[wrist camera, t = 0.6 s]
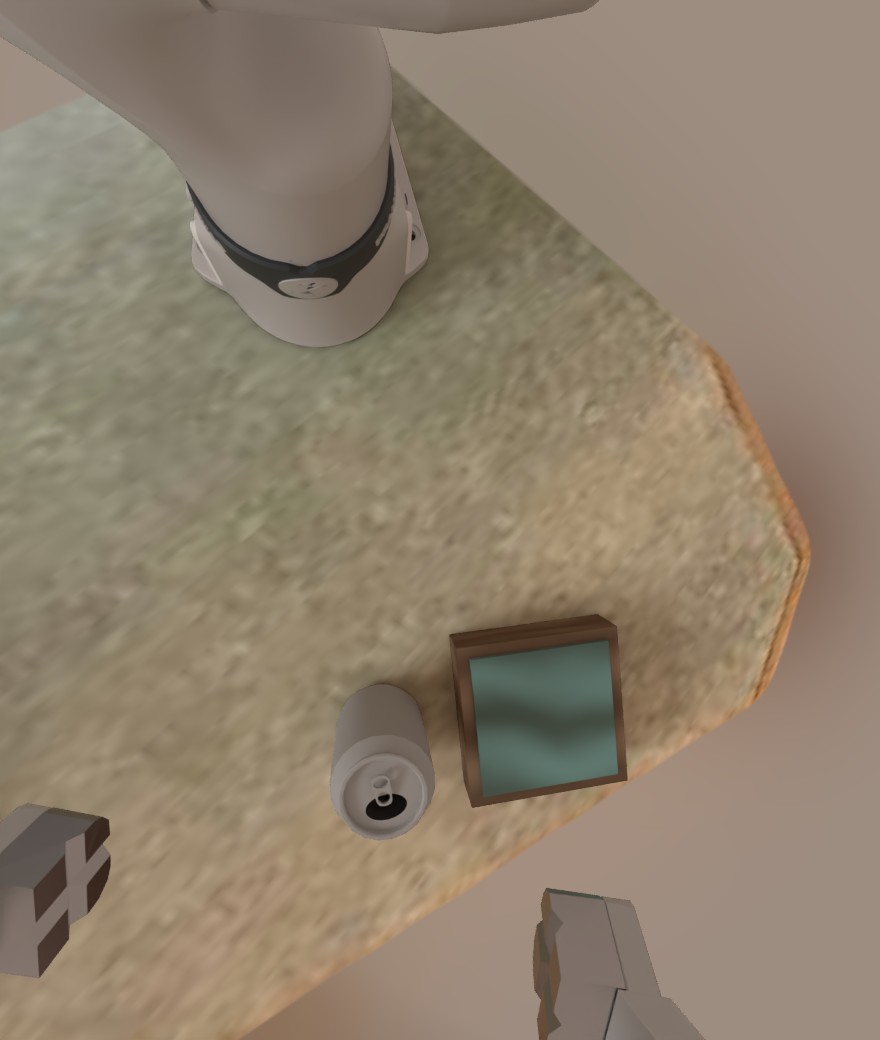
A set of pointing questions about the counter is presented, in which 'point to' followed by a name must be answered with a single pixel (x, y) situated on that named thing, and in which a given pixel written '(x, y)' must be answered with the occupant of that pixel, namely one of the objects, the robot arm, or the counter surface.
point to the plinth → (539, 708)
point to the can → (381, 763)
